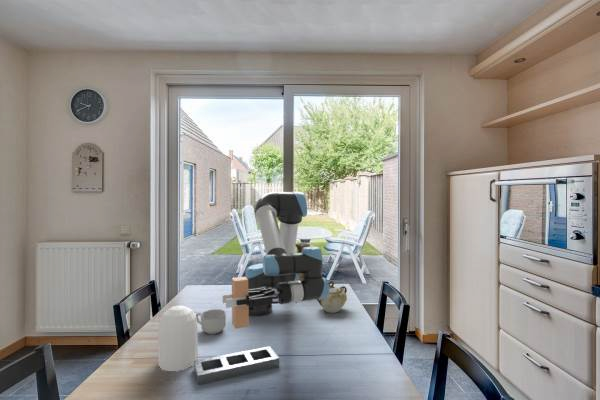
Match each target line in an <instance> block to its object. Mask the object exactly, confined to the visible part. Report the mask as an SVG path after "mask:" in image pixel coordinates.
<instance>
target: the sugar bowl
mask: <svg viewBox="0 0 600 400" xmlns="http://www.w3.org/2000/svg"><path fill="white" fill-rule="evenodd" d="M328 283H329V288H330V289H329V294H328V295H327V296H326V297H324V298H320V299H316V301H317V302H318V303H319V305H320V306H321V308H322V309H323V310H324V311H325V312H327V313H331V314H332V313H338V312H341V310H342V308H343V307H344V305H345V304H346V302H347V297H348V295H347V291H348V289H347V287H346V286H344V285H342V286H340V287H337V286H334V285H335V282H334V281H332V280H331V281H328Z"/></svg>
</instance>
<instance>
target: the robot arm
mask: <svg viewBox="0 0 600 400" xmlns="http://www.w3.org/2000/svg"><path fill="white" fill-rule="evenodd" d="M305 196H306V195H304V193H303V192H298V191H281V192H279V191H271V192H268V193H265V194H264V195H262V196H261V197H260V198H259V199H258V200H257V202H256V204H255V206H254V211H253V212H254V217H255V220H256V221H257V222H258V224H259V229H260V233H261V238H262V243H263V246H264V251H265V255H263V257H262V263H256V264H253V265H250V266H248V267H247V268H246V269H245V276H244V277H246V278H247V279H248V295H246V297H238V298H232V293H226V294H222V304H225V308H226V309H227V308H232V307H236V306H243V305H249V316H250V317H251V316H254V317H256V316H265V315H268V314H270V313H272V312H273V305H274V304H276V305H278V304H279V305H286V304H290V303H291V304H292V303H295V304H297V303H298V302H304V301H312V300H317V299H320V298H324V297H326V296H327V295H328V294H329V289H330V288H329V281H328V279H327V278H326V277H323V251H322V249H321V248H320V247H319V246H309V247H304V248H303V249H302V253H297V252H296V244H297V237H298V236H297V235H298V228H299V224H301V223H302V221H303V218H304V217H307V215H308V203H307V199H306V197H305ZM278 222H280V223H278ZM278 224H279V225H278ZM295 252H296V253H295ZM298 274H302V277H303V280H298V278H299V275H298Z"/></svg>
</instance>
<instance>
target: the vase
mask: <svg viewBox="0 0 600 400" xmlns="http://www.w3.org/2000/svg"><path fill="white" fill-rule="evenodd" d="M304 247H311V242H300V241H299V242H298V241H297V242H296V246H295V248H296V249H297V250H296V251H297V252H296V253H302V249H303V248H304ZM298 275H299V278H298V280H303V277H302V274H298Z"/></svg>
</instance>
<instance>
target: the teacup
mask: <svg viewBox="0 0 600 400" xmlns="http://www.w3.org/2000/svg"><path fill="white" fill-rule="evenodd" d="M195 315H196V319H197V324H199V325H200V326H201V329H202V331H203V332H204V333H206V334H208V335H215V334H219V333H220V332H222V331H223V330H224V329H225V328H226V321H227V318H226V317H227V316H226V315H227V312H226V311H225V310H223V309H219V308H214V309H213V308H211V309H208V310H205V311H203V312H197V313H195ZM199 316H200V319H199Z"/></svg>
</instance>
